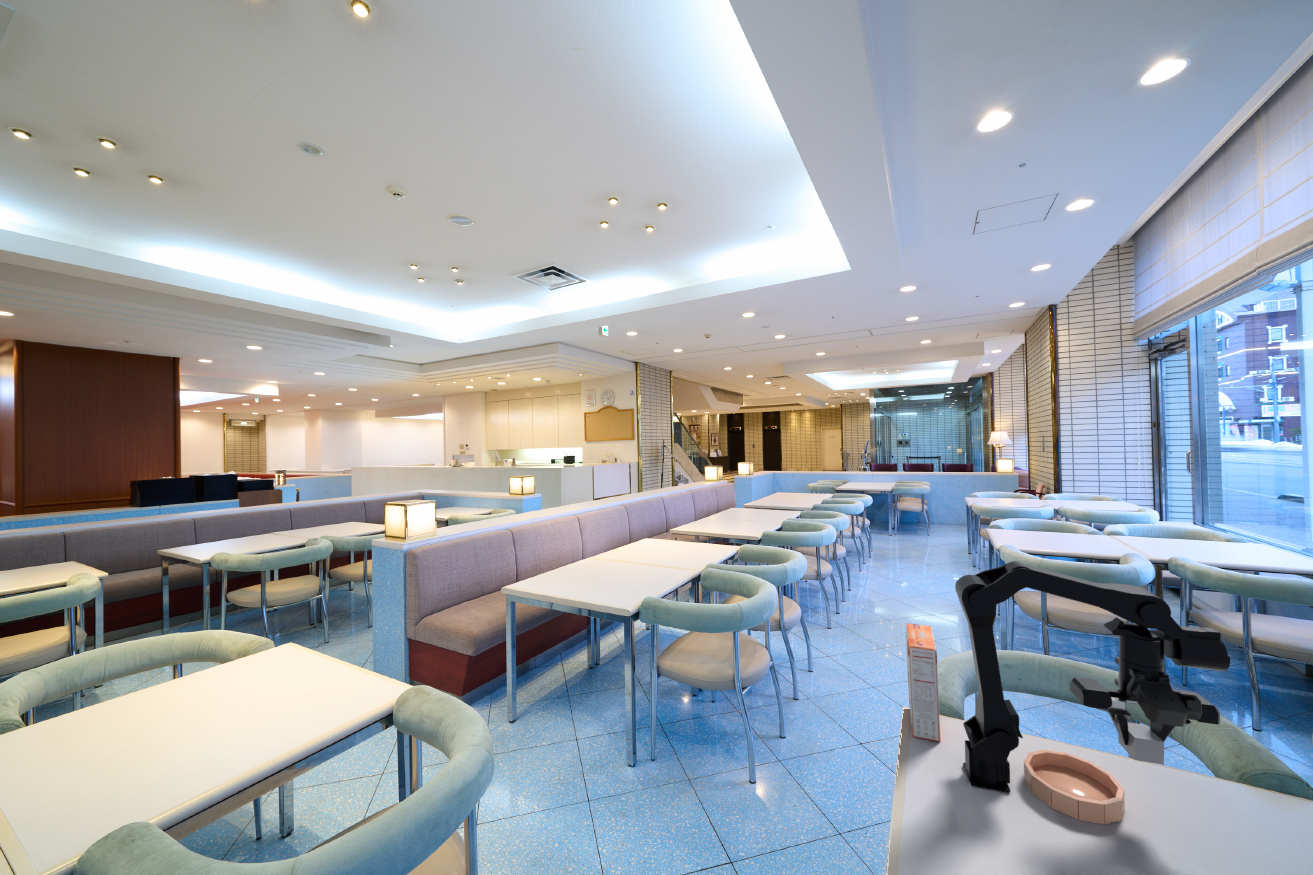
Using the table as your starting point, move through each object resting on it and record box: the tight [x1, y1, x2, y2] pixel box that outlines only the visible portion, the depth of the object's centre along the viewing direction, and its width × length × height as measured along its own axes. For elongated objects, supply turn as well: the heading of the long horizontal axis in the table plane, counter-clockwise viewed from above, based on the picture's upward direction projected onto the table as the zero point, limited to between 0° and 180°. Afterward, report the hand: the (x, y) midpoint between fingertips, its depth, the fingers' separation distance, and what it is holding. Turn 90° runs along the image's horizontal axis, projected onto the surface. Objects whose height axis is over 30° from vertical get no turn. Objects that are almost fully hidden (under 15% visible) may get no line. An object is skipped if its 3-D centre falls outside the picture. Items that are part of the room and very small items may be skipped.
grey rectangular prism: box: [1117, 722, 1165, 766], centre depth 88 cm, size 4×5×4 cm
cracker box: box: [905, 623, 941, 743], centre depth 115 cm, size 14×6×21 cm, turn 155°
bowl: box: [1023, 749, 1126, 825], centre depth 92 cm, size 14×14×4 cm
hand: (1140, 746), depth 88 cm, fingers closed on grey rectangular prism, 4 cm apart
